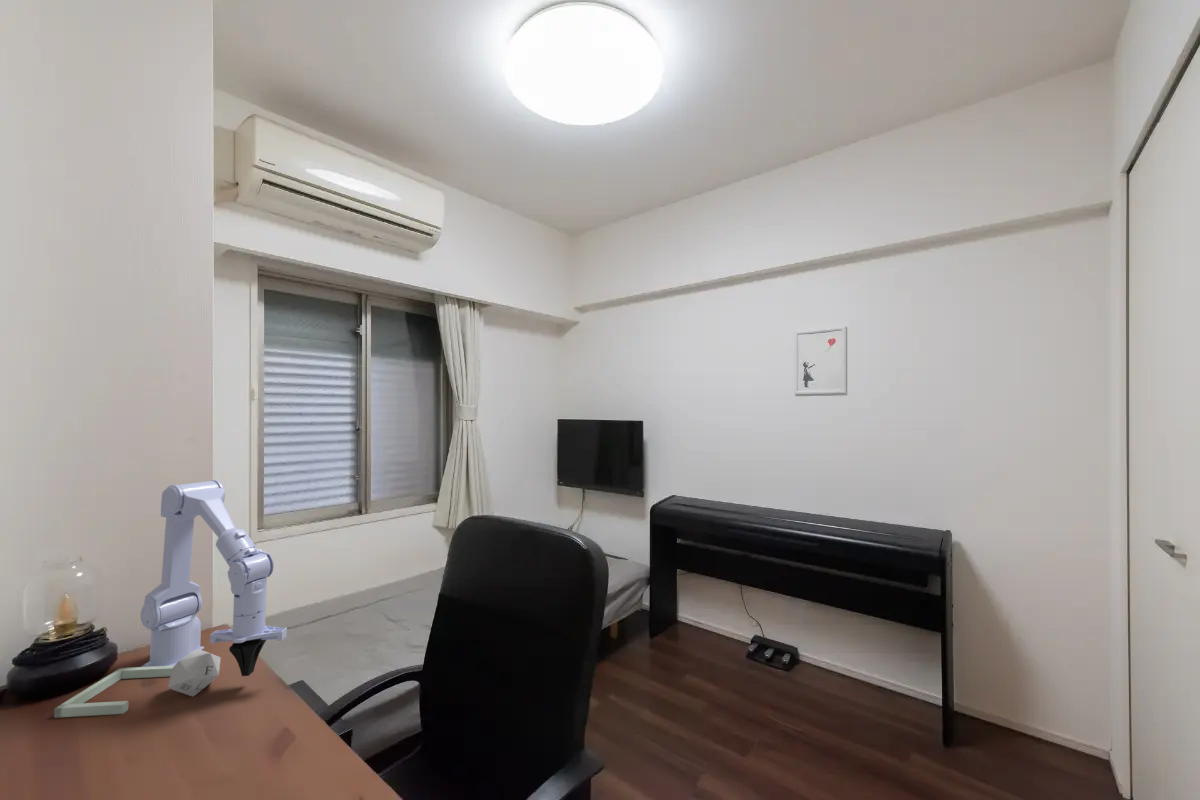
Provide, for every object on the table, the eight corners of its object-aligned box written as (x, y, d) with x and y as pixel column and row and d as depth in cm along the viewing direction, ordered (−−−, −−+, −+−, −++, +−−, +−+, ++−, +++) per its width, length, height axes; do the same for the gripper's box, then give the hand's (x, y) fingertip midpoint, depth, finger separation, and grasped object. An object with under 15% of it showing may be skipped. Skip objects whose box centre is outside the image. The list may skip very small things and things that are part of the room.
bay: (119, 676, 106) (120, 668, 106) (178, 673, 107) (178, 665, 107) (54, 717, 92) (54, 708, 92) (122, 713, 93) (123, 704, 93)
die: (161, 710, 95) (193, 671, 96) (154, 676, 100) (184, 639, 101) (205, 704, 102) (235, 667, 103) (196, 672, 107) (225, 637, 108)
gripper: (200, 620, 98) (198, 686, 98) (275, 617, 100) (273, 682, 100) (223, 606, 105) (221, 667, 105) (292, 603, 107) (290, 664, 107)
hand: (247, 673), depth 103 cm, fingers closed
